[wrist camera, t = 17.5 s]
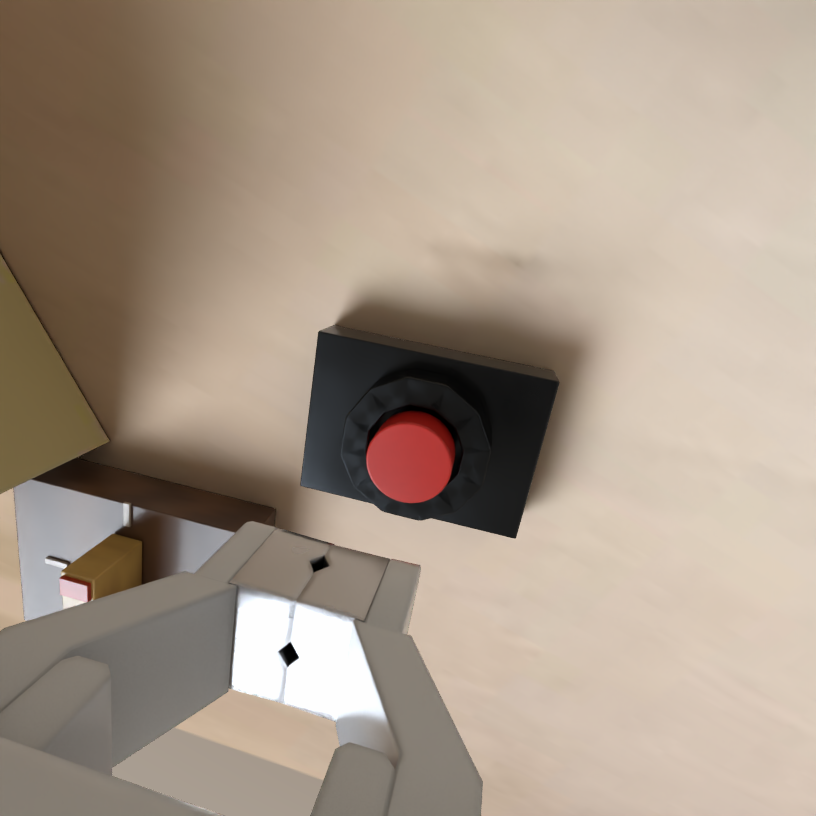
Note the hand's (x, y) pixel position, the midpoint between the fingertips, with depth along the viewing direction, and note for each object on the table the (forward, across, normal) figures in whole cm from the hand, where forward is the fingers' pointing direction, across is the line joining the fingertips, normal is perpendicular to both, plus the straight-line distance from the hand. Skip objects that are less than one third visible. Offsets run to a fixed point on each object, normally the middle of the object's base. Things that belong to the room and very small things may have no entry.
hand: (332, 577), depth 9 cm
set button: (+14, +1, +3) cm, 14 cm away
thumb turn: (+14, +15, +15) cm, 25 cm away
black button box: (+17, +1, +3) cm, 18 cm away
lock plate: (+17, +15, +15) cm, 27 cm away
